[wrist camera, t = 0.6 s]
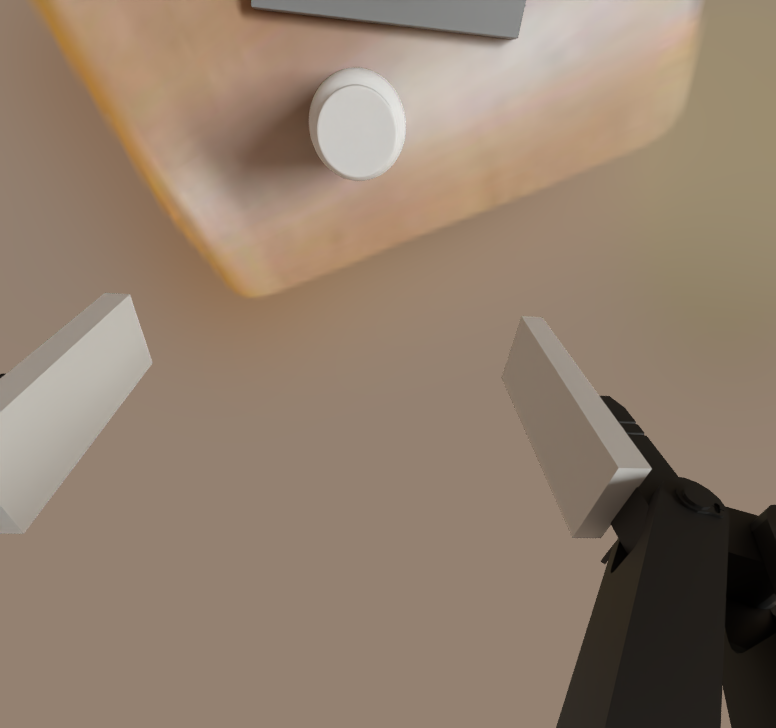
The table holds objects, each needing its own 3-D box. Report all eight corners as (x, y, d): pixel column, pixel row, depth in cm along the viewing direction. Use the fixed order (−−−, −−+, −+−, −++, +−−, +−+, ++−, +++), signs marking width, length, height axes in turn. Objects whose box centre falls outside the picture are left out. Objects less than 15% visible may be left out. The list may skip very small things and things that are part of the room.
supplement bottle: (330, 168, 29) (316, 200, 21) (310, 78, 26) (284, 76, 18) (403, 155, 28) (416, 182, 21) (392, 62, 25) (403, 52, 17)
